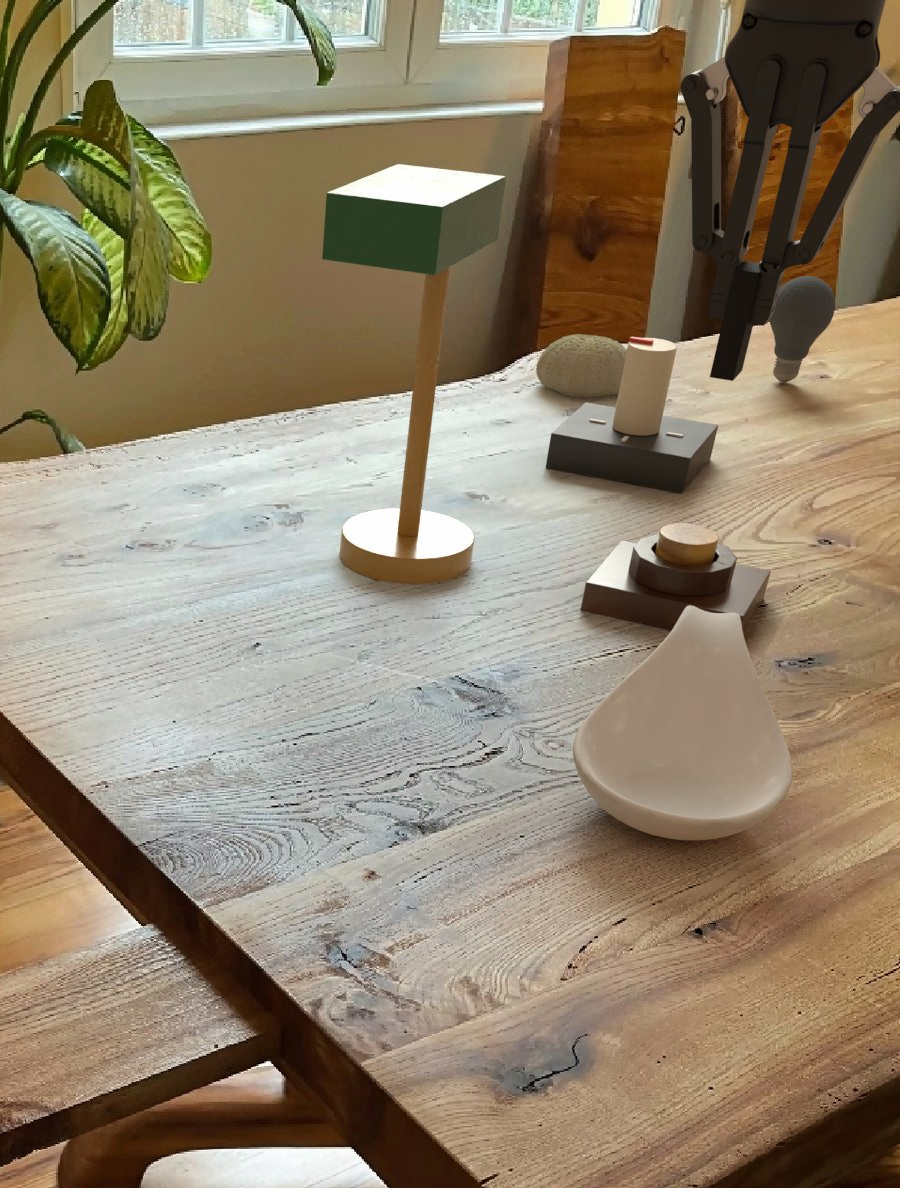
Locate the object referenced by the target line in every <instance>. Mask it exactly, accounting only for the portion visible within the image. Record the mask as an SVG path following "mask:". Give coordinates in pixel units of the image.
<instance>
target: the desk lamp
mask: <svg viewBox="0 0 900 1188" xmlns="http://www.w3.org/2000/svg"><path fill="white" fill-rule="evenodd" d="M506 180H507V176H505V175H499V174H490V173H481V172H472V171H464V170H453V169H445V168H435V167H428V166H419V165H411V164H401V163H397V164H395V165H392V166H390V167H386V168H385V169H382V170H379V171H377V172H375V173H373V174H371V175H370V174H369V175H367V176H364V177H363V178H360V179H358V180H355V181H352V182H350V183H347V184H346V185H342V186H340V187H338V188H335V189H333V190H330V191H328V192H326V198H325V209H324V213H325V214H324V227H323V240H322V241H323V242H322V253H321V254H322V257H321V259H322V260H324V261H331V262H337V263H338V262H339V263H346V264H353V265H359V266H366V267H374V268H381V269H388V270H394V271H401V272H409V273H416V274H422V275H424V284H423V293H422V302H421V309H420V311H421V312H420V318H419V319H420V321H419V328H418V329H419V330H418V339H417V346H416V347H417V349H416V358H415V367H414V374H413V383H412V392H411V393H412V394H411V402H410V411H409V412H410V413H409V421H408V431H407V440H406V448H405V457H404V466H403V475H402V476H403V477H402V485H401V494H400V503H399V508H398V507H397V508H381V509H374V510H369V511H365V512H361V513H358V514H356V515H354V516H352V517H350V518H349V519H347V520H346V521H345V522H344V524H343V525H342V527H341V534H340V545H339V546H340V547H339V558H340V560H341V562H342V564H344V565H345V566H346V567H347V568H348V569H350V570H351V571H353V572H355V573H357V574H359V575H361V576H364V577H366V578H370V579H373V580H377V581H383V582H387V583H394V584H395V583H396V584H405V585H406V584H407V585H425V584H426V585H427V584H436V583H441V582H447V581H449V580H454V579H455V578H458V577H461V576H462V575H463V574H465V573H466V572H467V571H468V570H469V569H470V567H471V565H472V560H473V559H472V558H473V551H474V547H475V545H474V544H475V535H474V531H472V529H471V528H470V527H469V526H468V525H467V524H465V523H463V522H462V521H460V520H458V519H456V518H454V517H451V516H449V515H446V514H442V513H438V512H434V511H428V510H424V509H422V507H423V499H424V491H425V482H426V476H427V475H426V473H427V467H428V466H427V464H428V456H429V449H430V440H431V431H432V423H433V415H434V406H435V398H436V388H437V383H438V382H437V381H438V372H439V363H440V354H441V347H442V340H443V339H442V338H443V330H444V329H443V328H444V322H445V313H446V305H447V297H448V289H449V287H448V286H449V279H450V271H451V267H452V266H454V265H456V264H457V263H459V262H462V260H465V259H466V258H468V257H470V256H472V255H473V254H475V253H476V252H478V251H480V250H482V249H484V248H486V247H487V246H490V245H491V244H492V243H495V242H496V241H498V239H499V233H500V232H499V231H500V225H501V218H502V211H503V210H502V209H503V203H504V195H505V187H506V182H507V181H506Z"/></svg>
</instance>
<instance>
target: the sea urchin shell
mask: <svg viewBox="0 0 900 1188" xmlns="http://www.w3.org/2000/svg"><path fill="white" fill-rule="evenodd" d="M626 353H627V348H626V347H624V344H622V343H620V342H619V341H618V340H614V339H613V338H611V337H607V336H599V335H590V334H581V333H576V334H574V333H572V334H571V335H570V334H568V335H566V336H562V337H560V338H558V340H554V341H553V342H552V343H549V345H548V346H547V347H545V349H544V350H543V351H542V353H541V355H540V356H539V358H538V360H537V363H536V368H535V371H536V372H535V374H536V377H537V378H538V380H539V383H540V384H541V385H543V386H544V387H545V388H547V389H549V390H551V391H553V392H556V393H560V394H561V395H567V396H570V397H573V398H577V399H578V398H579V399H582V398H595V397H608V396H616V395H618V394H619V389H620V384H621V379H622V373H623V368H624V363H625V358H626Z"/></svg>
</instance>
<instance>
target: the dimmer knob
mask: <svg viewBox="0 0 900 1188" xmlns="http://www.w3.org/2000/svg"><path fill="white" fill-rule="evenodd" d="M626 349H627V353H626V358H625V363H624V368H623V373H622V379H621V384H620V389H619V393H617V395H618V396H617V400H616V406H615V408H616V410H615V415H614V420H613V425H612V426H613V428H614V429H615V430H617V431H619V432H621V433H624V434H629V435H636V436H648V435H654V434H656V433H658V432H659V430H660V425H661V421H662V416H664V410H665V406H666V402H667V398H668V392H669V387H670V383H671V378H672V375H673V368H674V364H675V359H676V356H677V350H678V345H677V344H676V343H674V342H672V341H670V340H666V339H662V338H656V337H638V336H630V337H629V340H628V343H627V348H626Z"/></svg>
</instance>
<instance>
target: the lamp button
mask: <svg viewBox="0 0 900 1188" xmlns="http://www.w3.org/2000/svg"><path fill="white" fill-rule="evenodd" d="M658 534H659V538H658V542H657V547H656V551H655V555H656V556H658V557H660V558H662V559H664V560H666V561H668V562H673V563H677V564H682V565H706V564H710V563H712V562H713V560H714V556H715V552H716V548H717V544H718V543H719V540H720V536H719V534H718V533H717V532H716V531H715V530H713V529H711V528H709V527H706V526H703V525H699V524H695V523H688V522H674V523H668V524H666V525H664V526H662V527H661V528H660V529H659V533H658Z"/></svg>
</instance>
